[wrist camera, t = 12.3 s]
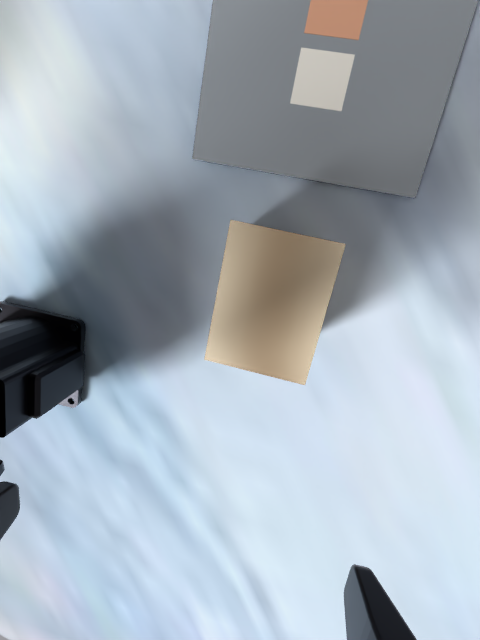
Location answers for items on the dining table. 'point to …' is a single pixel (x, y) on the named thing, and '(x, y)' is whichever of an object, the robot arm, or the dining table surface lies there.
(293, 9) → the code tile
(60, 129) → the dining table surface
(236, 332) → the maple block
